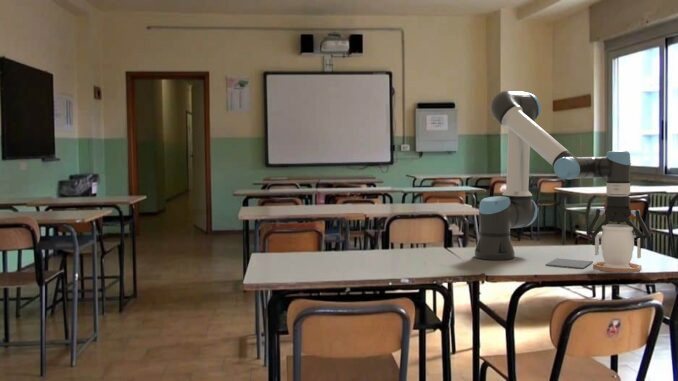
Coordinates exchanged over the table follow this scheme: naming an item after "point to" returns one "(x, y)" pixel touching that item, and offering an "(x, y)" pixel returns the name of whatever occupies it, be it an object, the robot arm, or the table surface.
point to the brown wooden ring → (635, 269)
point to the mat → (569, 263)
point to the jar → (617, 245)
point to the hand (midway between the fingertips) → (617, 256)
